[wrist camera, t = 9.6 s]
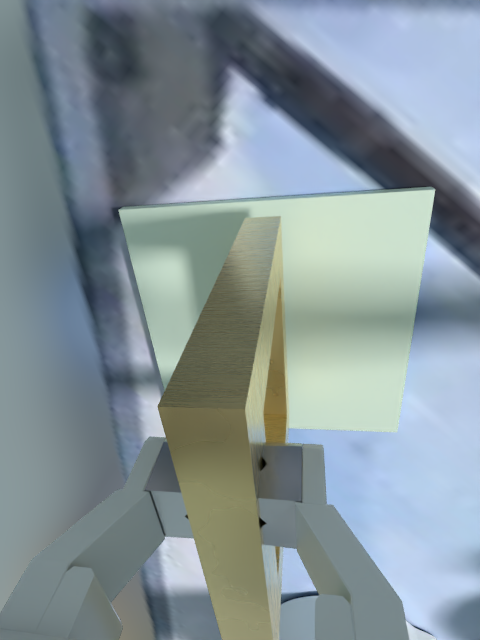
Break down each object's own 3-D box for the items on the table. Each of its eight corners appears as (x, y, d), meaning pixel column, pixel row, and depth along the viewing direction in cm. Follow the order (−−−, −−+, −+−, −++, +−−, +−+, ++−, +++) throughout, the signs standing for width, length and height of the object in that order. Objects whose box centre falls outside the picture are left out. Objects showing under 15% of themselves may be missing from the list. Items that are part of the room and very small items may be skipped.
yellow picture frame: (289, 415, 23) (277, 676, 13) (262, 414, 23) (230, 669, 13) (280, 215, 17) (244, 409, 7) (245, 217, 17) (157, 407, 7)
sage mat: (395, 425, 25) (397, 432, 24) (175, 417, 27) (172, 423, 27) (431, 186, 17) (435, 189, 17) (123, 206, 20) (118, 209, 19)
